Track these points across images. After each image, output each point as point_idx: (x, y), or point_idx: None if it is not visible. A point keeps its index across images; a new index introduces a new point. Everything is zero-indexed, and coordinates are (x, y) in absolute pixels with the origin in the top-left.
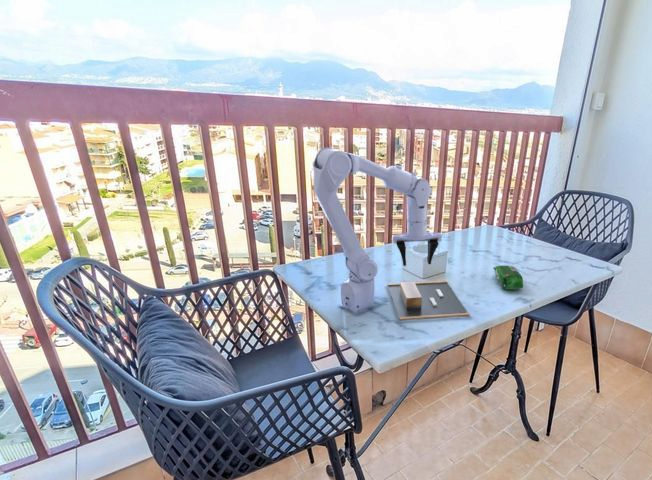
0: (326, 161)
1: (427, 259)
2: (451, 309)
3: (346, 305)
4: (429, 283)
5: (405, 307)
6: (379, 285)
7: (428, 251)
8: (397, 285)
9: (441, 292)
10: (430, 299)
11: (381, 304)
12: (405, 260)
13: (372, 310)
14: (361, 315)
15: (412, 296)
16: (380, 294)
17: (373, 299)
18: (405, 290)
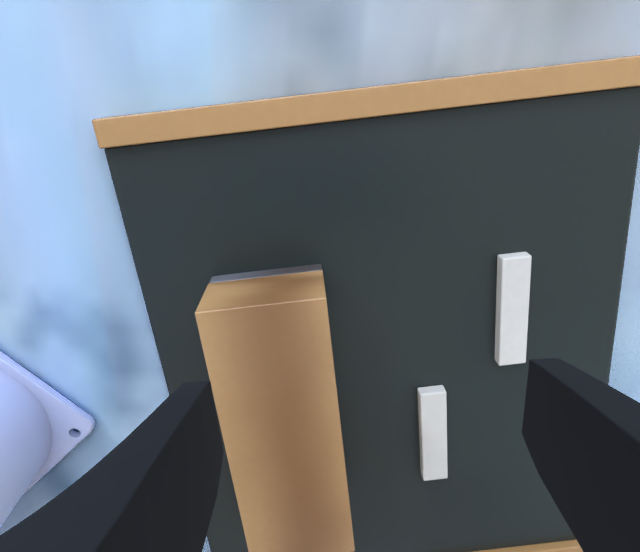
0: None
1: (547, 383)
2: (516, 499)
3: None
4: (482, 104)
5: None
6: (20, 74)
7: (637, 507)
8: (187, 137)
9: (527, 316)
10: (421, 418)
11: (101, 408)
12: (201, 536)
13: (59, 475)
14: (10, 523)
15: (292, 542)
16: (66, 262)
17: (30, 477)
18: (245, 463)
